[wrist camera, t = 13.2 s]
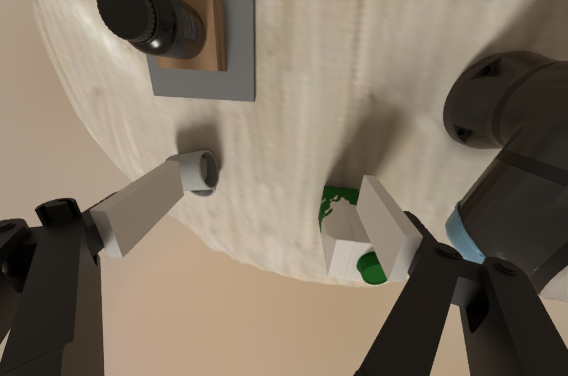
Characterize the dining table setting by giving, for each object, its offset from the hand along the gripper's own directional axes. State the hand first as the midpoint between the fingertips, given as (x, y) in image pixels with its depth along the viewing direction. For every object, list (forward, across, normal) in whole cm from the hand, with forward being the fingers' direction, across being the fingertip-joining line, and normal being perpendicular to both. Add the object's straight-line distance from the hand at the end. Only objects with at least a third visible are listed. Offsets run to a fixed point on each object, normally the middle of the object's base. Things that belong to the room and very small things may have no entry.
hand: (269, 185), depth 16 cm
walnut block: (+27, +15, -12) cm, 33 cm away
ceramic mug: (+29, +17, +12) cm, 36 cm away
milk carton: (+29, -12, +17) cm, 35 cm away
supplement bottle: (+23, +15, -12) cm, 30 cm away
